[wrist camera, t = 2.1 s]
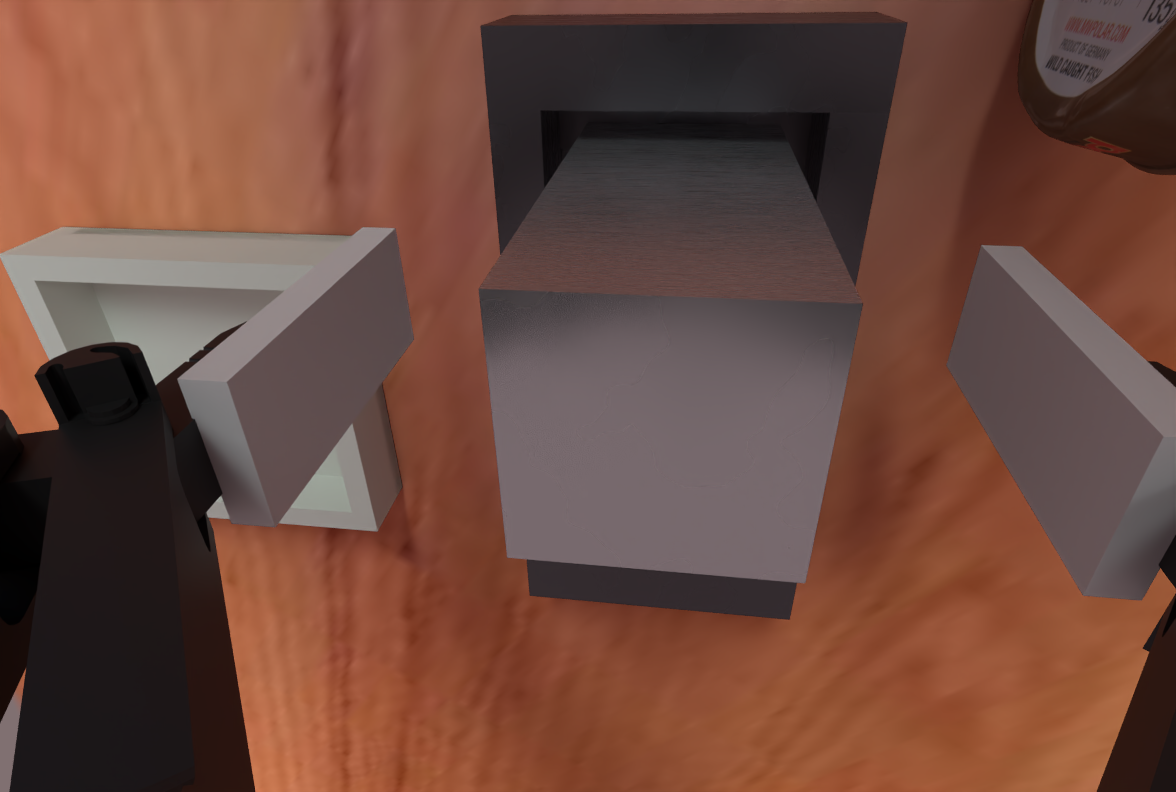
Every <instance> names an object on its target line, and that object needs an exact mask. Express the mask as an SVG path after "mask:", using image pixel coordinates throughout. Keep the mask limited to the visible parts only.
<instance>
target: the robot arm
mask: <svg viewBox="0 0 1176 792" xmlns="http://www.w3.org/2000/svg"><path fill="white" fill-rule="evenodd" d="M413 340H414V337H413V331H412V325H411V319H410V312H409V306H408V300H407V294H406V288H405V282H404V276H403V270H402V264H401V258H400V252H399V246H398V240H397V234H396V228H371V227H362V228H361V229H360V230H359V231H357V232H356V233H355V234H354V235H352V236H351V237H350V238H349V239H348V240H346V241H345V242H344V243H343V244H341V245H340V246H339V247H338V248H337V249H335V250H334V251H333V252H332V253H330V254H329V255H328V256H327V257H326V258H324V259H323V260H322V261H321V262H319V263H318V264H317V265H316V266H315V267H313V268H312V269H311V270H310V271H308V272H307V273H306V274H305V275H304V276H302V277H301V278H300V279H299V280H297V281H296V282H295V283H294V284H293V285H291V286H290V287H289V288H288V289H286V290H285V291H284V292H283V293H282V294H280V295H279V296H278V297H277V298H275V299H274V300H273V301H272V302H271V303H269V304H268V305H267V306H266V307H264V308H263V309H262V310H261V311H260V312H258V313H257V314H256V315H255V316H253V317H252V318H251V319H250V320H249V321H246V322H244V323H242V324H240V325H237V326H235V327H233V328H231V329H229V330H227V331H224V332H222V333H220V334H219V335H218V336H217V337H215V338H214V339H213V340H212V341H210V342H209V343H208V344H207V345H205V346H204V347H203V348H204V349H203V350H199V351H198V352H197V353H195V354H194V355H193V356H192V357H190V358H189V362H186V361H185V362H184V363H183V364H182V365H180V366H179V367H178V368H177V369H175V370H174V371H173V372H172V373H170V374H169V375H168V376H166V377H165V378H164V379H163V380H161V381H160V382H159V383H158V384H156V385H155V382H154V380H153V377H152V375H151V372H150V370H149V367H148V365H147V362H146V360H145V357H144V355H143V352H142V351H141V349H140V348H139V346H137V345H134V344H131V343H128V342H107V343H100V344H93V345H89V346H85V347H81V348H78V349H74V350H71V351H69V352H66V353H64V354H62V355H59V356H57V357H55V358H53V359H51V360H50V361H48V362H47V363H45V364H44V365H42V366H41V367H40V368H39V370H38V371H37V373H36V374H35V378H36V380H37V382H38V384H39V386H40V388H41V390H42V392H43V394H44V396H45V398H46V400H47V402H48V404H49V406H50V408H51V410H52V412H53V414H54V416H55V418H56V420H57V422H58V424H59V430H51V431H42V432H34V433H26V434H17V432H16V430H15V428H14V427H13V425H12V423H11V421H10V419H9V417H8V416H7V415H6V413H5V412H4V411H3V410H0V722H1V720H2V718H3V716H4V714H5V712H6V709H7V707H8V705H9V703H10V701H11V699H12V697H13V694H14V692H15V690H16V688H17V686H18V684H19V682H20V679H21V677H22V675H23V673H24V671H25V669H26V674H25V681H24V688H23V696H22V703H21V711H20V718H19V725H18V733H17V740H16V748H15V755H14V763H13V770H12V777H11V785H10V792H255V786H254V780H253V774H252V767H251V761H250V755H249V749H248V743H247V736H246V730H245V724H244V718H243V712H242V705H241V699H240V693H239V687H238V681H237V674H236V668H235V662H234V656H233V649H232V643H231V637H230V631H229V625H228V618H227V612H226V606H225V600H224V594H223V587H222V581H221V575H220V569H219V563H218V556H217V550H216V544H215V538H214V532H213V528H212V526H211V523H210V521H209V518H208V515H207V513H206V512H207V511H208V510H209V509H210V507H211V506H212V505H213V504H214V503H215V502H216V501H217V499H218V498H219V497H220V496H221V497H222V499H223V502H224V505H225V507H226V510H227V513H228V515H229V518H230V521H231V523H232V524H242V525H254V526H265V527H276V526H277V525H278V523H279V522H280V520H281V519H282V518H283V516H284V515H285V514H286V512H287V511H288V510H289V508H290V507H291V506H292V504H293V503H294V502H295V500H296V499H297V497H298V496H299V495H300V493H301V492H302V491H303V489H304V488H305V487H306V485H307V484H308V483H309V481H310V480H311V478H312V477H313V476H314V474H315V473H316V472H317V470H318V469H319V468H320V466H321V465H322V464H323V462H324V461H325V459H326V458H327V457H328V455H329V454H330V453H331V451H332V450H333V449H334V447H335V446H336V445H337V443H338V442H339V440H340V439H341V438H342V436H343V435H344V434H345V432H346V431H347V430H348V428H349V427H350V426H351V424H352V423H353V421H354V420H355V419H356V417H357V416H358V415H359V413H360V412H361V411H362V409H363V408H364V407H365V405H366V404H367V402H368V401H369V400H370V398H371V397H372V396H373V394H374V393H375V392H376V390H377V389H378V388H379V386H380V385H381V383H382V382H383V381H384V379H385V378H386V377H387V375H388V374H389V373H390V371H391V370H392V369H393V367H394V366H395V364H396V363H397V362H398V360H399V359H400V358H401V356H402V355H403V354H404V352H405V351H406V350H407V348H408V347H409V345H410V344H411V343H412V341H413ZM946 366H947V367H948V369H949V371H950V372H951V374H952V376H953V377H954V379H955V381H956V382H957V384H958V386H959V387H960V389H961V391H962V393H963V394H964V396H965V398H966V399H967V401H968V403H969V404H970V406H971V408H972V409H973V411H974V413H975V414H976V416H977V418H978V419H979V421H980V423H981V425H982V426H983V428H984V430H985V431H986V433H987V435H988V436H989V438H990V440H991V441H992V443H993V445H994V446H995V448H996V450H997V451H998V453H999V455H1000V457H1001V458H1002V460H1003V462H1004V463H1005V465H1006V467H1007V468H1008V470H1009V472H1010V473H1011V475H1012V477H1013V478H1014V480H1015V482H1016V483H1017V485H1018V487H1019V489H1020V490H1021V492H1022V494H1023V495H1024V497H1025V499H1026V500H1027V502H1028V504H1029V505H1030V507H1031V509H1032V510H1033V512H1034V514H1035V515H1036V517H1037V519H1038V521H1039V522H1040V524H1041V526H1042V527H1043V529H1044V531H1045V532H1046V534H1047V536H1048V537H1049V539H1050V541H1051V542H1052V544H1053V546H1054V548H1055V549H1056V551H1057V553H1058V554H1059V556H1060V558H1061V559H1062V561H1063V563H1064V564H1065V566H1066V568H1067V569H1068V571H1069V573H1070V574H1071V576H1072V578H1073V580H1074V581H1075V583H1076V585H1077V586H1078V588H1079V590H1080V591H1081V593H1082V595H1083V596H1094V597H1106V598H1118V599H1130V600H1142V599H1143V597H1144V596H1145V594H1146V592H1147V590H1148V589H1149V587H1150V585H1151V583H1152V582H1153V580H1154V578H1155V576H1156V575H1157V573H1158V571H1159V569H1160V568H1161V569H1162V571H1163V572H1164V573H1165V575H1166V576H1167V577H1168V579H1169V580H1170V581H1171V583H1172V584H1173V585H1174V587H1175V588H1176V372H1175V371H1173V370H1171V369H1169V368H1167V367H1165V366H1163V365H1162V364H1160V363H1158V362H1151V361H1146V360H1145V359H1144V358H1143V357H1142V356H1141V355H1140V354H1139V353H1138V352H1136V351H1135V350H1134V349H1133V348H1132V347H1131V346H1130V345H1129V344H1128V343H1127V342H1126V341H1125V340H1123V339H1122V338H1121V337H1120V336H1119V335H1118V334H1117V333H1116V332H1115V331H1114V330H1113V329H1111V328H1110V327H1109V326H1108V325H1107V324H1106V323H1105V322H1104V321H1103V320H1102V319H1101V318H1099V317H1098V316H1097V315H1096V314H1095V313H1094V312H1093V311H1092V310H1091V309H1090V308H1089V307H1087V306H1086V305H1085V304H1084V303H1083V302H1082V301H1081V300H1080V299H1079V298H1078V297H1077V296H1076V295H1074V294H1073V293H1072V292H1071V291H1070V290H1069V289H1068V288H1067V287H1066V286H1065V285H1064V284H1062V283H1061V282H1060V281H1059V280H1058V279H1057V278H1056V277H1055V276H1054V275H1053V274H1052V273H1050V272H1049V271H1048V270H1047V269H1046V268H1045V267H1044V266H1043V265H1042V264H1041V263H1040V262H1038V261H1037V260H1036V259H1035V258H1034V257H1033V256H1032V255H1031V254H1030V253H1029V252H1028V251H1027V250H1025V249H1024V248H1023V247H1022V246H992V245H981V247H980V251H979V254H978V258H977V261H976V265H975V268H974V272H973V275H972V279H971V282H970V285H969V289H968V292H967V296H966V299H965V303H964V306H963V310H962V313H961V317H960V320H959V323H958V327H957V330H956V334H955V337H954V341H953V344H952V348H951V351H950V355H949V358H948V362H947V365H946ZM1143 649H1145V650H1147V651H1149V655H1148V658H1147V660H1146V663H1145V666H1144V668H1143V671H1142V673H1141V676H1140V679H1139V681H1138V684H1137V687H1136V689H1135V692H1134V695H1133V697H1132V700H1131V702H1130V705H1129V708H1128V710H1127V713H1126V716H1125V718H1124V721H1123V724H1122V726H1121V729H1120V732H1119V734H1118V737H1117V739H1116V742H1115V745H1114V747H1113V750H1112V753H1111V755H1110V758H1109V761H1108V763H1107V766H1106V768H1105V771H1104V774H1103V776H1102V779H1101V782H1100V784H1099V787H1098V790H1097V792H1176V594H1175V596H1174V597H1173V599H1172V601H1171V602H1170V604H1169V606H1168V607H1167V609H1166V610H1165V612H1164V614H1163V615H1162V617H1161V619H1160V620H1159V622H1158V624H1157V625H1156V627H1155V629H1154V630H1153V632H1152V634H1151V635H1150V637H1149V639H1148V640H1147V642H1146V644H1145V645H1144V647H1143Z"/></svg>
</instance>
